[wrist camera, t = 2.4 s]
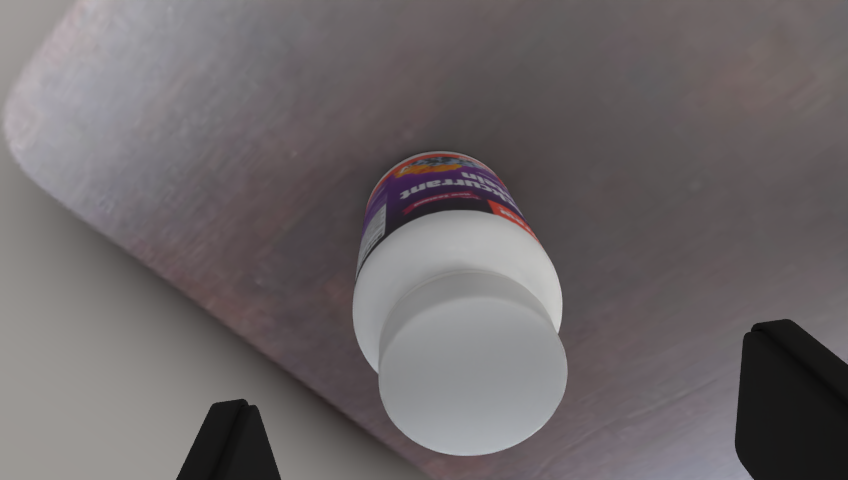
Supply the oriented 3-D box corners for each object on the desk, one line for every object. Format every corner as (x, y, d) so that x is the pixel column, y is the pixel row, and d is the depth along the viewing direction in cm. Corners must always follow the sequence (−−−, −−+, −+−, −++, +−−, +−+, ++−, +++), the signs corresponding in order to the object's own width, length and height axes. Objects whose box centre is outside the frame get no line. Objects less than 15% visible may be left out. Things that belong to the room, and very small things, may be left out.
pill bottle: (532, 168, 20) (645, 301, 11) (484, 298, 22) (550, 500, 13) (384, 129, 19) (379, 237, 10) (348, 267, 21) (318, 460, 12)
